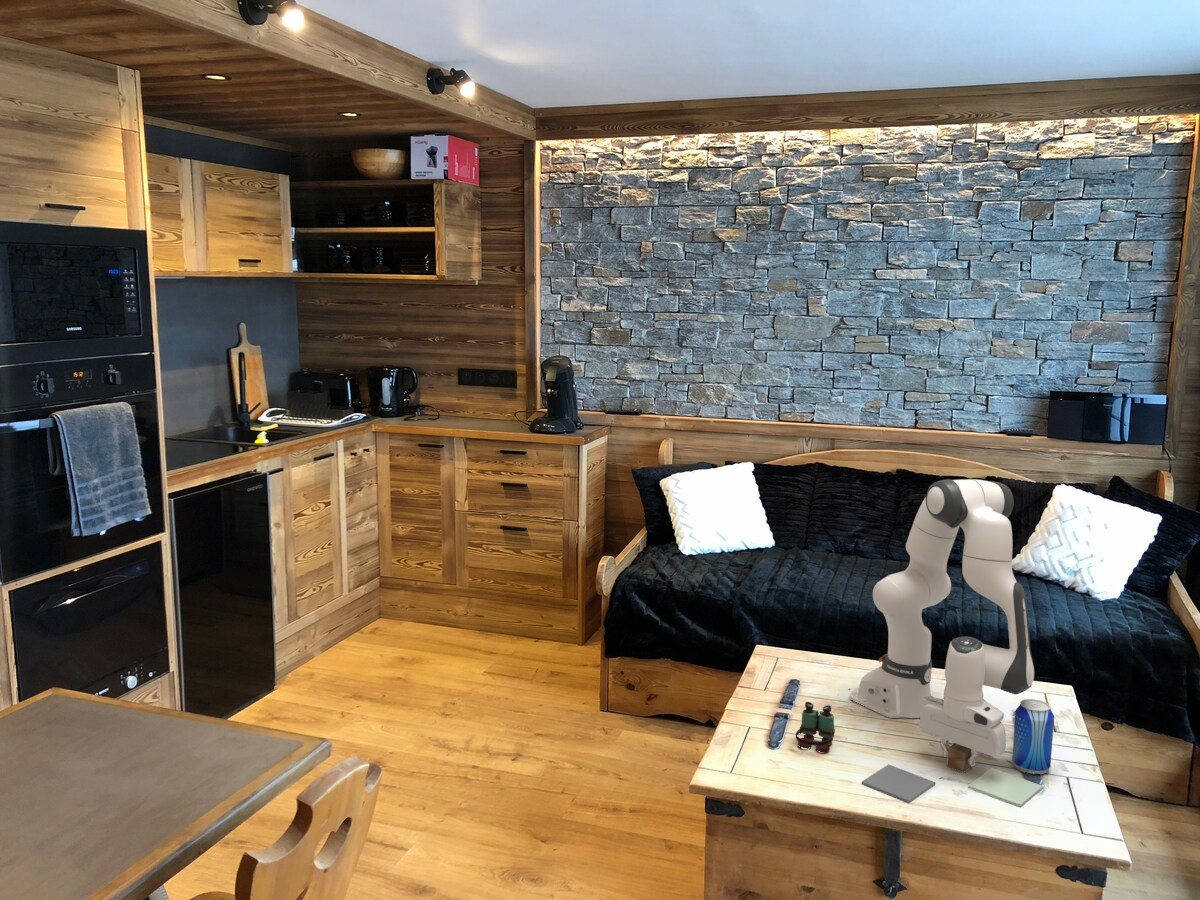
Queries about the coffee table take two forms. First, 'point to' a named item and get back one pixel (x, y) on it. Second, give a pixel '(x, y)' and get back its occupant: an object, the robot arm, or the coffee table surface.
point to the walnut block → (958, 757)
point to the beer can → (1033, 736)
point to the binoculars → (816, 727)
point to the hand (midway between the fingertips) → (959, 760)
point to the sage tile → (1005, 787)
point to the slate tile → (898, 783)
